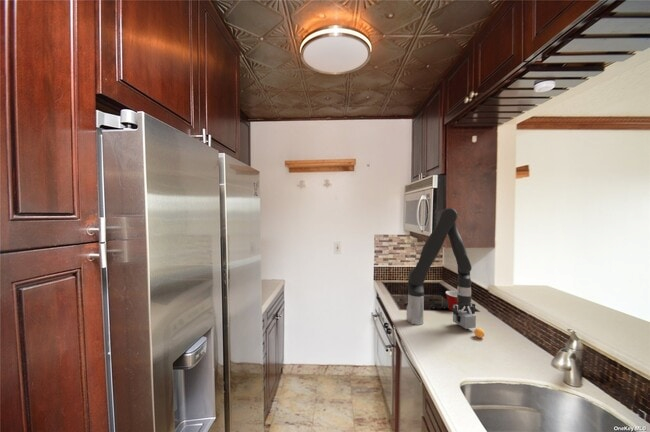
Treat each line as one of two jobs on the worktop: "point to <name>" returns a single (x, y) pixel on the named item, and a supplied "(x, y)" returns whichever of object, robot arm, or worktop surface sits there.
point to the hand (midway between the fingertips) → (463, 321)
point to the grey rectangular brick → (466, 320)
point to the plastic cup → (451, 299)
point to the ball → (479, 333)
